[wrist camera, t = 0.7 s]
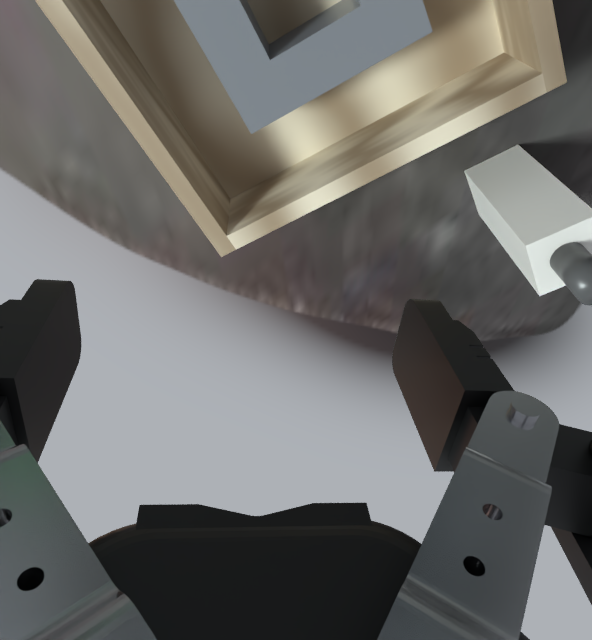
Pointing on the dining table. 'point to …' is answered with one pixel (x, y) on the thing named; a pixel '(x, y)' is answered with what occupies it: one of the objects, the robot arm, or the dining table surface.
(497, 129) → the dining table surface
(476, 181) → the plug
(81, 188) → the dining table surface
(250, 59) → the block
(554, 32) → the walled box
